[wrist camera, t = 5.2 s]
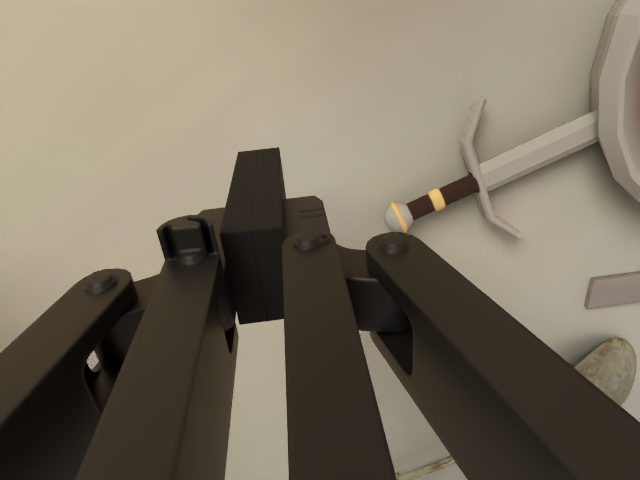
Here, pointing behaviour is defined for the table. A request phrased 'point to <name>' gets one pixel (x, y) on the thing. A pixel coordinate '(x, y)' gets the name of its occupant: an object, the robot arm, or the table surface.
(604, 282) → the knife
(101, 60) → the table surface
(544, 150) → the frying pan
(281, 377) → the table surface
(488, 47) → the table surface
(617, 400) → the soupspoon
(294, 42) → the table surface
